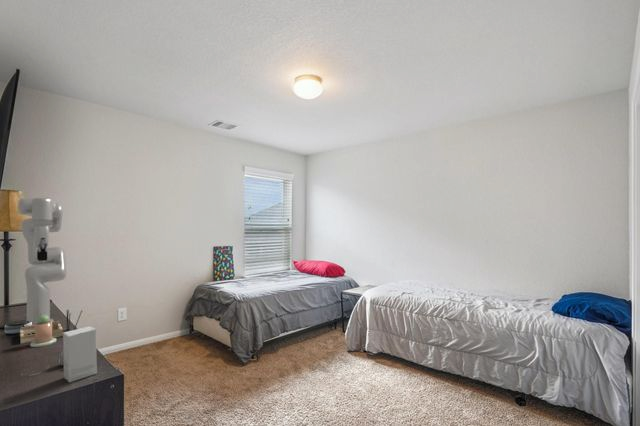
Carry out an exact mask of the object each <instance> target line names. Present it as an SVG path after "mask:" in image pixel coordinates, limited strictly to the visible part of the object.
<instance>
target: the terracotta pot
mask: <svg viewBox="0 0 640 426" xmlns="http://www.w3.org/2000/svg"><path fill="white" fill-rule="evenodd" d="M52 331H53V330H52V321H49V317H48V316H47V315H42V316H40V317H39V318H38V323H36V324H35V343H36V344H39V343H45V342H49V341H51V340H52Z"/></svg>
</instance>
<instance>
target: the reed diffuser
mask: <svg viewBox="0 0 640 426" xmlns="http://www.w3.org/2000/svg"><path fill="white" fill-rule="evenodd" d="M69 311H70V310H69V309H67V310H66V332H68V331H70V324H71V314H72V313H71V312H70V313H69ZM82 313H83V310H81V311H80V313H79V316H78V319H77V321H76V323H75V326H74V327H73V330H76V327H77V325H78V322H79V320H80V317H81V314H82ZM58 359H59V360H58V362H59V365H61V366H64V349H62V351H61V352H60V353H59V357H58Z"/></svg>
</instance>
